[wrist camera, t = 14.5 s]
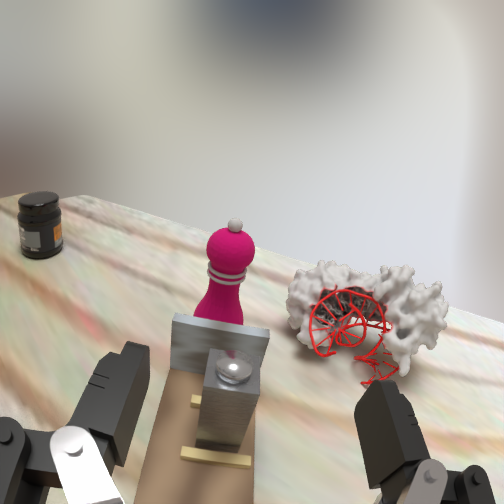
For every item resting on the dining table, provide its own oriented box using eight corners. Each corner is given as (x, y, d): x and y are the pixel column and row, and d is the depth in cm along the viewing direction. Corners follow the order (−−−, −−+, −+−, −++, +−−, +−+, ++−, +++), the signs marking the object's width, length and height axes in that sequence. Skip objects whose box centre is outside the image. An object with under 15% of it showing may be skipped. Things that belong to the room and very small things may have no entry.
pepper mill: (227, 367, 41) (256, 236, 33) (182, 348, 43) (195, 218, 34) (244, 338, 48) (272, 218, 39) (202, 322, 49) (220, 204, 41)
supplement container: (68, 240, 63) (67, 191, 58) (54, 262, 54) (50, 207, 49) (31, 237, 60) (28, 189, 55) (14, 258, 51) (7, 205, 46)
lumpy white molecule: (311, 424, 42) (462, 374, 36) (268, 350, 35) (467, 280, 29) (306, 341, 60) (423, 301, 54) (272, 267, 53) (410, 218, 47)
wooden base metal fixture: (133, 519, 19) (116, 491, 15) (172, 369, 39) (175, 312, 34) (248, 537, 19) (274, 516, 15) (252, 383, 39) (269, 329, 35)
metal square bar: (194, 446, 27) (204, 377, 22) (200, 414, 31) (211, 339, 26) (237, 453, 27) (262, 386, 22) (239, 420, 31) (262, 348, 26)
